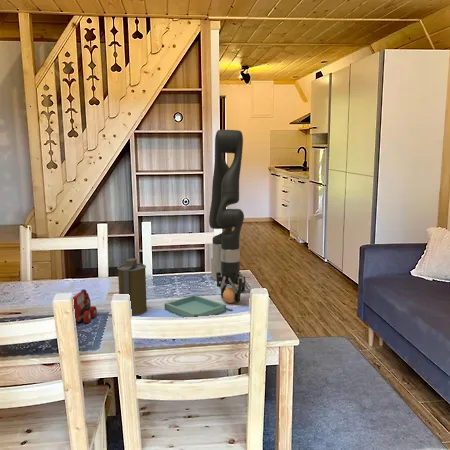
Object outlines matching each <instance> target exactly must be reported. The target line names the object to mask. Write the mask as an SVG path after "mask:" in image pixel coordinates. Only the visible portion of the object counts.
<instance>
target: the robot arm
mask: <svg viewBox="0 0 450 450" xmlns="http://www.w3.org/2000/svg"><path fill="white" fill-rule="evenodd" d="M214 137H215V138H214V165H213V176H212V186H211V187H212V188H211V202H210V209H209V216H208V222H209V223H208V224H209V227H210V228H211V229H214V230H223V229H224V230H223V231H222V232H221V233H219V234H216V235H214V236H213V237H212V258H211V261H210V263H211V265H210V268H211V272H210V275H211V278H212V279H213V280H214V281H216V286H217V287H218V288H219V289H220V297H221V299H223V300H224V298H223V292H224V291H225V290H226V289H227V287H228V286H231V288H233V289H234V291H235V302H234V303H236V304H238V303H240V302H241V293H244V292H246V291H245V289H246V277H245V276H243V277H241V276H240V273H239V272H240V271H241V251H240V236H241V235H240V234H241V231H242V226H243V225H244V220H245V214H244V211H243V210H242V209H240V208H227V207H229V206H230V205H235V204H237V203H239V201H240V176H241V167H242V158H243V147H244V136H243V132H242V131H241V130H238V129H218V130H217V131H216V133H215V136H214ZM224 154H234V155H233V160H232V163H231V164H230V166H229V165H228V164H227V162H226V160H225V157H224V156H223V155H224ZM233 228H234V229H233Z"/></svg>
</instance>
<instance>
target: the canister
mask: <svg viewBox="0 0 450 450" xmlns="http://www.w3.org/2000/svg"><path fill="white" fill-rule="evenodd" d="M137 260H138V259H137V258H136V257H135V258H134V257H133V258H128V259H126V260H125V263H124V264H123V263H122V264H119V265H118V266H117V267H116V268H117V271H118V272H117V274H118V275H117V276H118V278H117V281H118V295H119V294H129V295H130V301H131V309H132V316H131V317H137V316H141V315H144V314H145V313H147V312H148V307H147V306H148V305H147V277H146V276H147V275H146V268H147V265H145V264H143V263H139V262H137Z"/></svg>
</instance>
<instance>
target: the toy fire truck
mask: <svg viewBox="0 0 450 450" xmlns="http://www.w3.org/2000/svg"><path fill="white" fill-rule="evenodd" d="M73 299H74V305H73V310H74V309H75V318H76V321H77V322H79V321H82V320H83V322H84V324H88V323H90V322H91V320H92V318H93V319H94V318H95V317H96V316H97V311H98V310H97V306H94V305H92V303H91V298H90V295H89V292H87V290H86V289H81V290H80V291H79V292H78V293H77V294H75V295H74V296H73V297H72V300H73ZM76 321H75V322H76Z"/></svg>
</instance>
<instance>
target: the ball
mask: <svg viewBox="0 0 450 450" xmlns="http://www.w3.org/2000/svg"><path fill="white" fill-rule="evenodd" d="M223 298H224V299H223ZM223 298H222V299H223V300H224V302H226V303H228V304H232V303H236V302H235V291H234V289H233V288H232V287H228V288H227V287H226V290H225V291H224V292H223Z"/></svg>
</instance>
